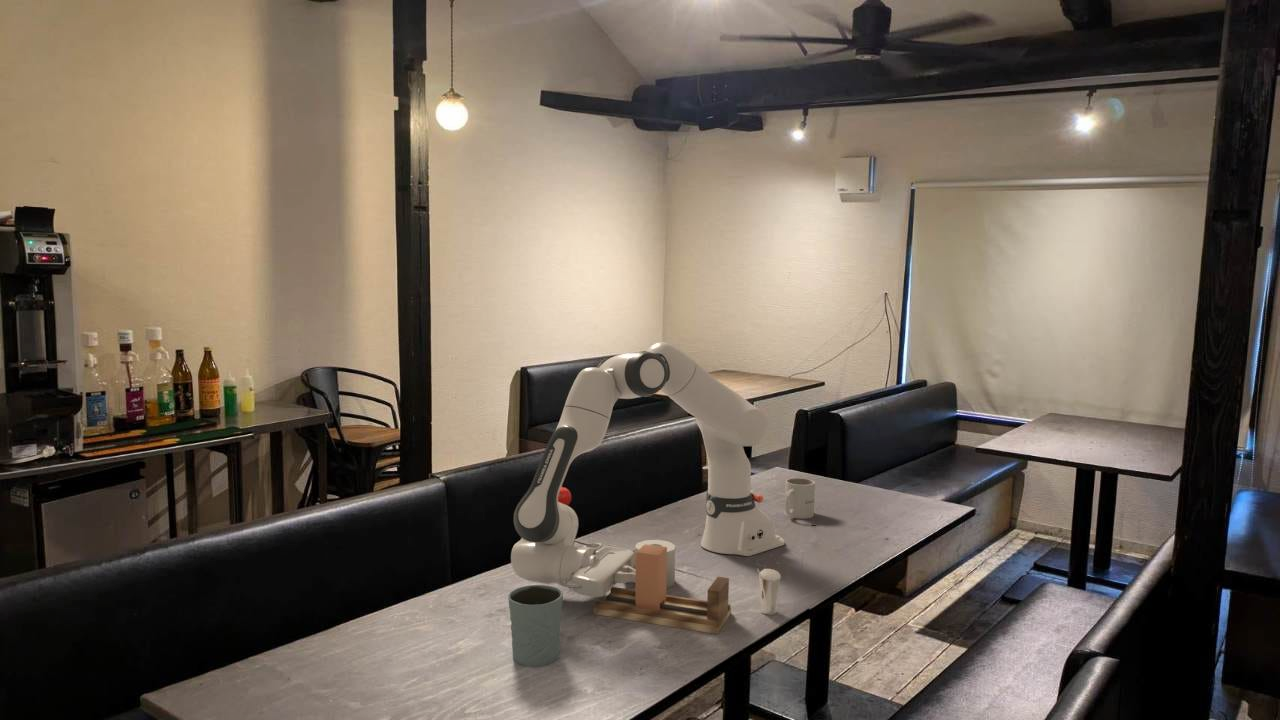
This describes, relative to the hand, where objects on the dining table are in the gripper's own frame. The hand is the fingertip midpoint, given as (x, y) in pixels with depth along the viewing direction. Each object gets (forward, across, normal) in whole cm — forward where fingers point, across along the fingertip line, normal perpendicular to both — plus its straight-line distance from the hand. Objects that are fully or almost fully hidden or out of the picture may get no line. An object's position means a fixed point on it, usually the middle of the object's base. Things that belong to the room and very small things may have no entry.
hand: (640, 576), depth 178 cm
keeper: (+3, 0, +6) cm, 6 cm away
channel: (+5, 0, +7) cm, 9 cm away
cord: (+4, 0, +6) cm, 7 cm away
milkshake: (+26, +9, +8) cm, 28 cm away
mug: (+19, +82, +8) cm, 85 cm away
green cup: (-11, -27, +7) cm, 30 cm away
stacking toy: (-29, +20, +8) cm, 36 cm away
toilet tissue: (-4, +16, +8) cm, 18 cm away
